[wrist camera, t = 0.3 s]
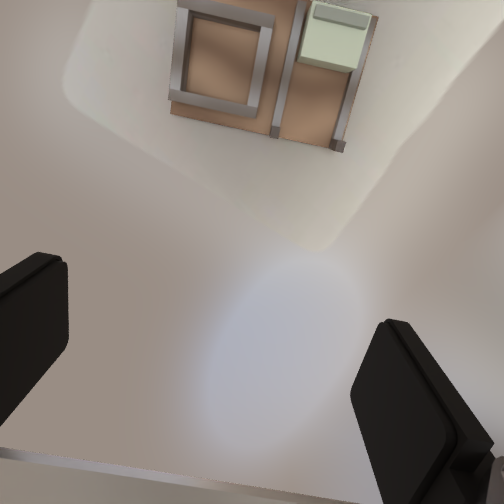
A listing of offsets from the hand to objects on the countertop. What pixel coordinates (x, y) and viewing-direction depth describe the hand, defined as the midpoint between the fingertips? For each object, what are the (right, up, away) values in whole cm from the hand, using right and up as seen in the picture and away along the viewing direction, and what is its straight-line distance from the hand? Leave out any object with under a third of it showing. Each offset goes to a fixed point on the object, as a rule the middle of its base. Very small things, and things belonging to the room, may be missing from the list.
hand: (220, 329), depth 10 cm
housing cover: (+8, +22, +21) cm, 31 cm away
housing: (+3, +21, +24) cm, 32 cm away
